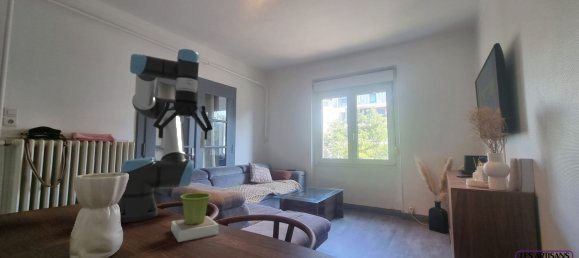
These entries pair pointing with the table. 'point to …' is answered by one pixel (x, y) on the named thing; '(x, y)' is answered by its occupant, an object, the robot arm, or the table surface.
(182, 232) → the pedestal
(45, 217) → the table surface
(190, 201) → the plant pot
